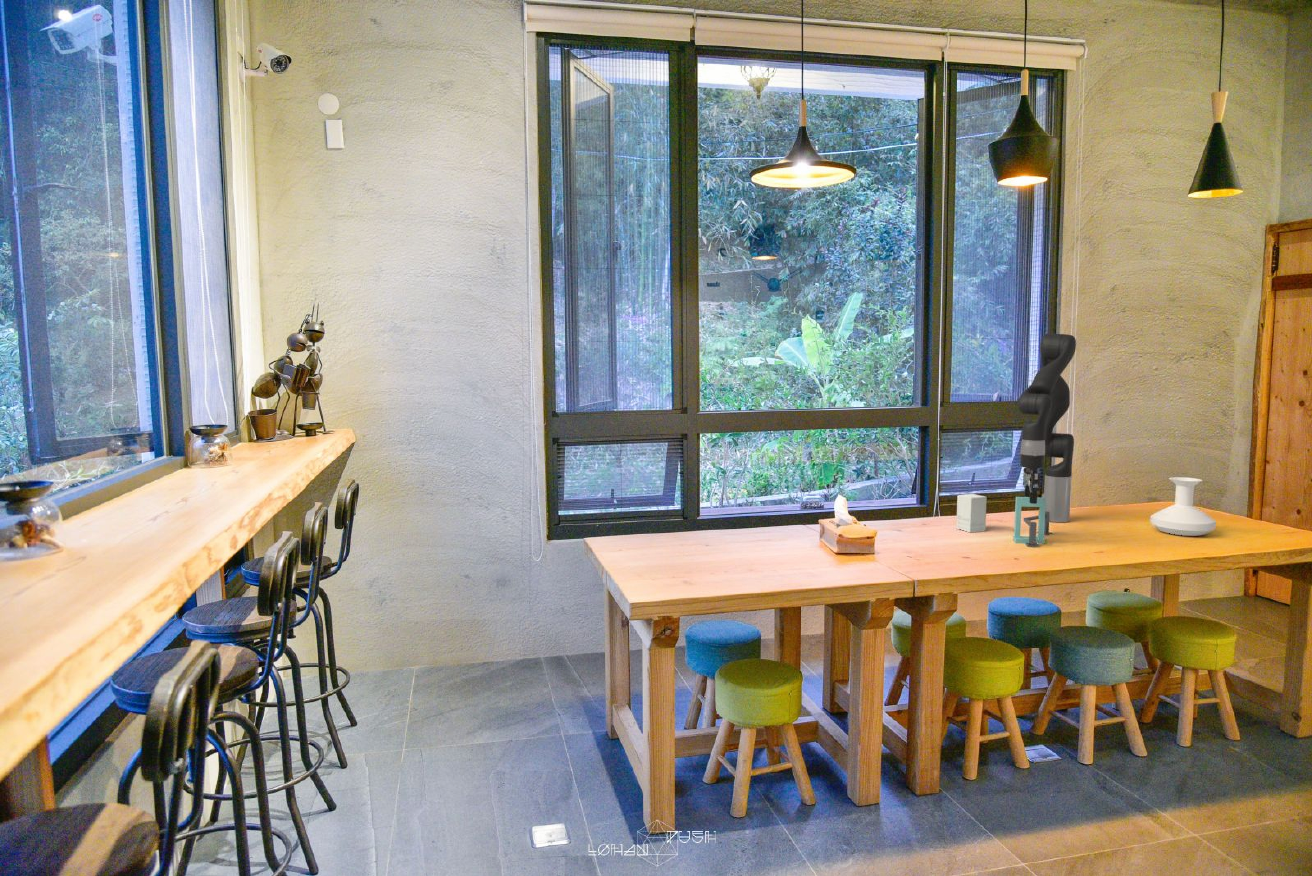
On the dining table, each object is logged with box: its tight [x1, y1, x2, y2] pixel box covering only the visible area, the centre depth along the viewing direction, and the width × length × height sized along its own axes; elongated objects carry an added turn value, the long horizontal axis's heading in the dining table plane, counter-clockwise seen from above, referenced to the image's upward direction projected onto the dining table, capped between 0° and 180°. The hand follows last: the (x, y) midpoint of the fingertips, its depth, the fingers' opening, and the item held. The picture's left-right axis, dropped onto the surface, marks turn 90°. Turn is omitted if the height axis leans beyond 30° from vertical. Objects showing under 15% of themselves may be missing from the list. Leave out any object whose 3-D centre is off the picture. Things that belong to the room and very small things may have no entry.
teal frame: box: [1012, 496, 1046, 545], centre depth 298 cm, size 4×9×15 cm, turn 80°
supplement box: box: [956, 493, 987, 533], centre depth 317 cm, size 7×7×13 cm
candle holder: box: [1149, 476, 1217, 537], centre depth 312 cm, size 20×20×19 cm
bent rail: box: [1023, 511, 1053, 548], centre depth 303 cm, size 8×26×8 cm, turn 146°
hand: (1030, 501), depth 297 cm, fingers open, 7 cm apart
